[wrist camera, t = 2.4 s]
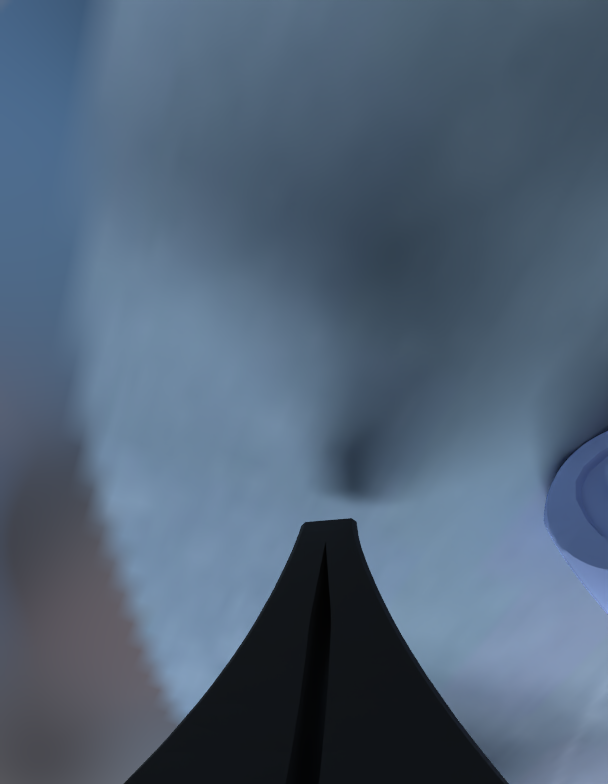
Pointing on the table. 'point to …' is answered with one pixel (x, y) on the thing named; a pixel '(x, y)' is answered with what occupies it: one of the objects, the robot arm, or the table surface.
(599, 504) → the decorative dice
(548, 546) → the table surface
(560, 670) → the table surface
